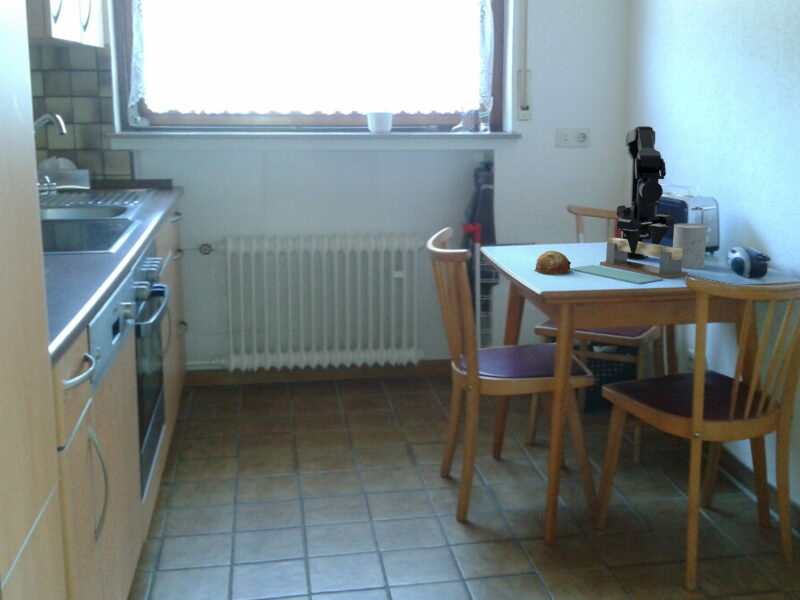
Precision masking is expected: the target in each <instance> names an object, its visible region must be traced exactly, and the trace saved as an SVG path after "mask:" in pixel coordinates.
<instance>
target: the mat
mask: <svg viewBox="0 0 800 600" xmlns="http://www.w3.org/2000/svg"><path fill="white" fill-rule="evenodd" d="M570 271H575V272H580V273H583V274H584V273H585V274H589V275H593V276H598V277H602V278H603V277H604V278H607V279H612V280H617V281H623V282H626V283H632V284H636V285H641V284H642V285H643V284H647V283H653V282H658V281H663V280H664V278H663V277H657V276H652V275H647V274H642V273H637V272H632V271H627V270H622V269H617V268H612V267H607V266H602V265H595V264H590V265H589V264H588V265H582V266H581V265H580V266H576V267H570Z"/></svg>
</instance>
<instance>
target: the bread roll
mask: <svg viewBox="0 0 800 600" xmlns="http://www.w3.org/2000/svg"><path fill="white" fill-rule="evenodd" d="M571 263H572V262H571V261H570V260H569V259H568V257H567V256H566V255H565V254H564V253H562V252H560V251H557V250H547V251H545V252H543V253H541V254H540V255H539V256H538V258H537V259H536V263H535V268H534V271H535V272H537V273H539V274H543V275H565V274H568V273H569V272H570V271H571V270H570V268H571Z"/></svg>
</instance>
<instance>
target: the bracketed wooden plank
mask: <svg viewBox="0 0 800 600" xmlns="http://www.w3.org/2000/svg"><path fill="white" fill-rule="evenodd" d="M627 254H628V252H626V251H620V250H617V244H616V243H610V242H608V241H607V243H606V254H605V255H606V256H605V260H604V261H599V266H602V267H607V268H612V269H617V270H622V271H627V272H632V273H637V274H642V275H647V276H652V277H657V278H662V279H668V280H671V279H672V280H673V279H676V278H677V279H678V278H682V277H687V276H686V275H689V272H688V271H683V268H682V259H680V260H671V254H672V253H669V252H664V251H662V252H661V254H660V257H659V259H660V260H659V266H656V265H652V264H645V263H641V262H635V261H630V260H629V261H628V258H627ZM682 258H683V252H682Z"/></svg>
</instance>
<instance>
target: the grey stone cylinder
mask: <svg viewBox="0 0 800 600" xmlns="http://www.w3.org/2000/svg"><path fill="white" fill-rule="evenodd" d="M707 232H708V225H706V224H699V223H688V222H687V223H686V222H685V223H675V224H673V238H672V239H673V240H672V247H676V248H682V249H683V258H682V269H685V270H686V269H687V270H698V269H704V268H705V260H706V259H705V256H706V246H707V245H706V243H707Z"/></svg>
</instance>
